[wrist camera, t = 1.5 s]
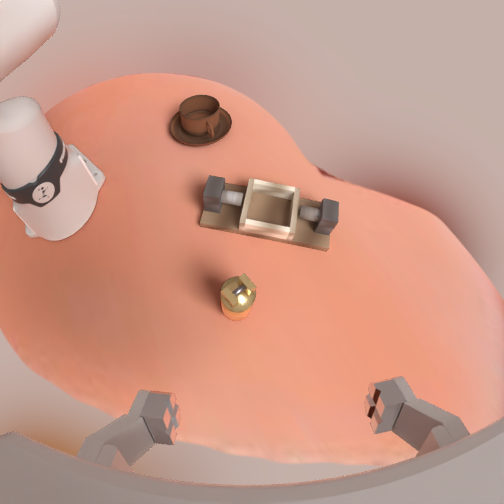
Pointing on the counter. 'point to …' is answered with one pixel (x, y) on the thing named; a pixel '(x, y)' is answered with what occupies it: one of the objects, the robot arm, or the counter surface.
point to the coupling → (237, 297)
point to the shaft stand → (268, 212)
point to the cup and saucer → (200, 121)
